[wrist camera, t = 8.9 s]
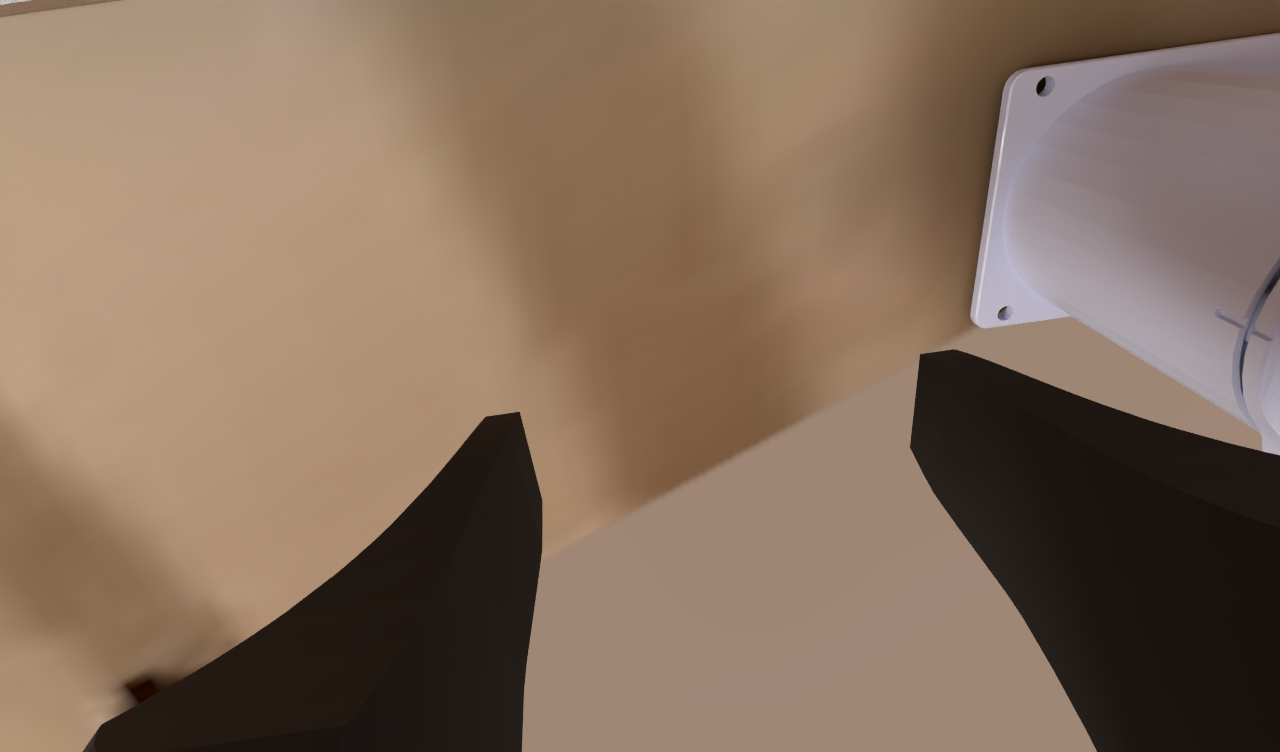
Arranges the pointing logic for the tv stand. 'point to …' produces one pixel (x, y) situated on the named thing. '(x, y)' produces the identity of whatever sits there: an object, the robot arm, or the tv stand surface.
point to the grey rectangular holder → (40, 5)
